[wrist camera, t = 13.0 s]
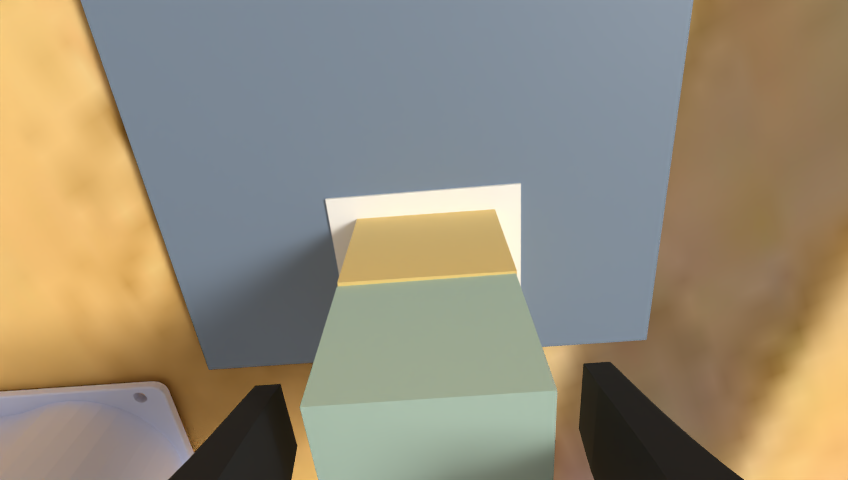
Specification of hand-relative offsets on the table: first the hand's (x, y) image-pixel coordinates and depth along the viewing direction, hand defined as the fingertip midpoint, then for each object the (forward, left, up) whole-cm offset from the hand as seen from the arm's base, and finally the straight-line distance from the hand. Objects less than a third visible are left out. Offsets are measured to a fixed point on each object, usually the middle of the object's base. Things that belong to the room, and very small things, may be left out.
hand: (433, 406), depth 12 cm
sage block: (0, 0, -2) cm, 2 cm away
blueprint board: (0, +5, -7) cm, 8 cm away
